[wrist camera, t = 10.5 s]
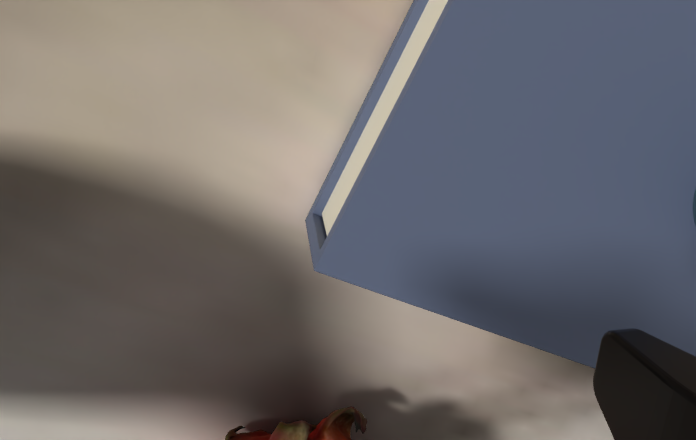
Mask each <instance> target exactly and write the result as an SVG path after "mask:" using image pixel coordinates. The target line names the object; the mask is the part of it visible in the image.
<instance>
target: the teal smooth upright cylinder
mask: <svg viewBox="0 0 696 440" xmlns="http://www.w3.org/2000/svg"><path fill="white" fill-rule="evenodd" d="M693 217H694V222H695V226H696V189H695V193H694V199H693Z"/></svg>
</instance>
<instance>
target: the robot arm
mask: <svg viewBox="0 0 696 440" xmlns="http://www.w3.org/2000/svg"><path fill="white" fill-rule="evenodd" d="M593 386H594V392H595V396H596V398H597V401H598V403H599V405H600V408H601V410H602V412H603V414H604V417H605V419H606V421H607V424H608V426H609V428H610V430H611V433H612V435H613V437H614V439H615V440H696V356H694V355H692V354H690V353H687V352H685V351H683V350H681V349H679V348H677V347H675V346H673V345H671V344H669V343H667V342H665V341H663V340H660V339H658V338H656V337H654V336H652V335H650V334H648V333H646V332H644V331H642V330H639V329H636V328H628V329H617V330H610V331H607V332H606V333H605V334H604V335H603V337H602V339H601V343H600V348H599V353H598V358H597V363H596V368H595V373H594V379H593Z"/></svg>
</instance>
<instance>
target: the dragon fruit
mask: <svg viewBox="0 0 696 440" xmlns="http://www.w3.org/2000/svg"><path fill="white" fill-rule="evenodd" d="M353 422H355V426H356V432H357V431H358V430H359V429H360V430H361V432H362V433H364V432H365V430H366V423H367V419H366V418H364V416H363V414H362V413H361V412H359V411H357V410H356V409H355V408H354V407H352V406H351V407H349V408H342V409H339V410H336V411H334V412H332V413H331V414H330V415H329V416H328V417H327V418H324V419H323V420H322V421H321V422H320V423H319V424H318V425H312V424H309V423H307V422H306V421H302V420H300V421H296V422H292V423H289V424H286V423H284V422H280V423H279V424H278V426H277V427H276V429H275V430H274V431H273V433H272V434H269V433H267V432H265V431H263V430H258V431H254V432H248V433H240V434H237V433H236V432H237V431H238V430H240V429H242V428H245V427H243V426H238V427H237V428H235V429H232V430H230V431H229V432H228V434H227V435H226V438H225V440H351V438H350V432H351V426H352V424H353Z"/></svg>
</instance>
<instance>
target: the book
mask: <svg viewBox="0 0 696 440" xmlns="http://www.w3.org/2000/svg"><path fill="white" fill-rule="evenodd" d="M695 189H696V0H414V1H413V3H412V5H411V7H410V9H409V11H408V13H407V15H406V17H405V19H404V21H403V23H402V25H401V27H400V29H399V31H398V33H397V35H396V37H395V39H394V41H393V43H392V46H391V48H390V50H389V52H388V54H387V56H386V58H385V60H384V62H383V64H382V66H381V68H380V70H379V72H378V74H377V76H376V78H375V80H374V82H373V84H372V86H371V88H370V90H369V92H368V94H367V96H366V98H365V100H364V102H363V104H362V106H361V108H360V110H359V112H358V114H357V116H356V119H355V121H354V123H353V125H352V127H351V129H350V131H349V133H348V135H347V137H346V139H345V141H344V143H343V145H342V147H341V149H340V151H339V153H338V155H337V157H336V159H335V161H334V163H333V165H332V167H331V169H330V171H329V173H328V175H327V177H326V179H325V181H324V183H323V185H322V187H321V189H320V191H319V194H318V196H317V198H316V200H315V202H314V204H313V206H312V208H311V210H310V212H309V214H308V216H307V218H306V220H305V221H306V227H307V233H308V239H309V244H310V250H311V256H312V262H313V267H314V271H316V272H319V273H322V274H325V275H328V276H331V277H333V278H336V279H339V280H342V281H345V282H348V283H351V284H354V285H356V286H359V287H362V288H365V289H368V290H371V291H374V292H377V293H379V294H382V295H385V296H388V297H391V298H394V299H397V300H400V301H402V302H405V303H408V304H411V305H414V306H417V307H420V308H423V309H426V310H428V311H431V312H434V313H437V314H440V315H443V316H446V317H449V318H451V319H454V320H457V321H460V322H463V323H466V324H469V325H472V326H474V327H477V328H480V329H483V330H486V331H489V332H492V333H495V334H497V335H500V336H503V337H506V338H509V339H512V340H515V341H518V342H520V343H523V344H526V345H529V346H532V347H535V348H538V349H541V350H543V351H546V352H549V353H552V354H555V355H558V356H561V357H564V358H567V359H569V360H572V361H575V362H578V363H581V364H584V365H587V366H590V367H592V368H596V363H597V358H598V353H599V348H600V343H601V339H602V337H603V335H604V334H605V333H606V332H607V331H610V330H617V329H628V328H636V329H639V330H642V331H644V332H646V333H648V334H650V335H652V336H654V337H656V338H658V339H660V340H663V341H665V342H667V343H669V344H671V345H673V346H675V347H677V348H679V349H681V350H683V351H685V352H687V353H690V354H692V355H694V356H696V226H695V222H694V217H693V199H694V193H695Z"/></svg>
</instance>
